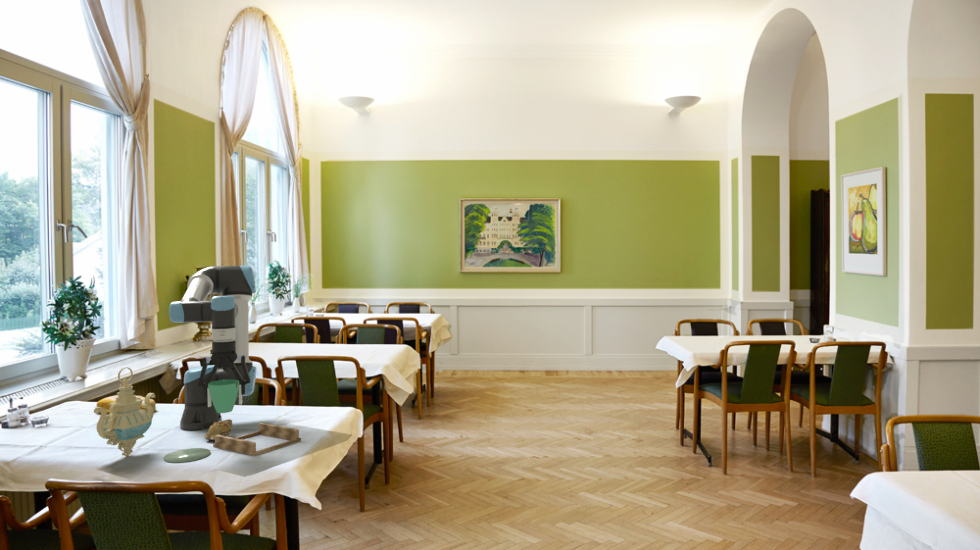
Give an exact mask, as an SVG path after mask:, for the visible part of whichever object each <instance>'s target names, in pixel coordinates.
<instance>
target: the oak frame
mask: <svg viewBox="0 0 980 550" xmlns="http://www.w3.org/2000/svg"><path fill="white" fill-rule="evenodd" d="M258 435H260V436H265V437H271V438H277V439H280V440H286V441H284V442H282V443H279V444H278V443H277V444H275V445H271V446H268V447H265V448H262V449H259V450H257V443H256V442H255V441H250V440H245V439H249V438H251V437H255V436H258ZM301 441H302V438H301V437H300V429H298V428H293V427H289V426H281V425H275V424H271V423H266V422H265V423H264V422H260V423H258V430H257V431H255V432H250V433H247V434H243V435H240V436H235V437H230V436H222V435H216V436H215V440H214V443H213V448H218V449H222V450H225V451H226V450H227V451H231V452H236V453H240V454H244V455H249V456H253V457H255V456H258V455H262V454H264V453H268V452H270V451H273V450H276V449H280V448H283V447H286V446H289V445H292V444H295V443H298V442H301Z"/></svg>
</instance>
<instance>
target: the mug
mask: <svg viewBox="0 0 980 550" xmlns="http://www.w3.org/2000/svg"><path fill="white" fill-rule="evenodd" d="M208 388H209V392H210V396H211V399H212V402H213V405H214V407H215V409H216V411H217V413H220V414H227V413H231V412H233V410H234V407H235V404H236V401H237V398H238V396H237V394H238V389H239V381H238V380H220V381H214V382H210V383H209V384H208Z"/></svg>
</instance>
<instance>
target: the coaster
mask: <svg viewBox="0 0 980 550" xmlns="http://www.w3.org/2000/svg"><path fill="white" fill-rule="evenodd" d="M210 455H211V449H208V448H204V447H195V448H194V447H193V448H192V447H191V448H184V449H178V450H175V451H172V452H169V453H167V454H165V455H164V456H163V460H164V462H166V463H173V464H174V463H175V464H177V463H178V464H179V463H190V462H195V461H199V460H202V459H204V458H207V457H209V456H210Z"/></svg>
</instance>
